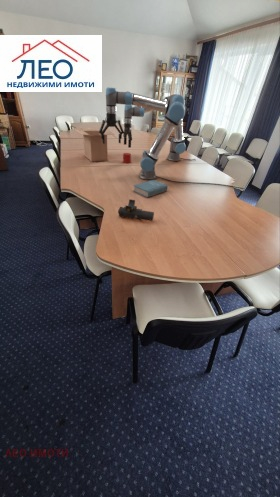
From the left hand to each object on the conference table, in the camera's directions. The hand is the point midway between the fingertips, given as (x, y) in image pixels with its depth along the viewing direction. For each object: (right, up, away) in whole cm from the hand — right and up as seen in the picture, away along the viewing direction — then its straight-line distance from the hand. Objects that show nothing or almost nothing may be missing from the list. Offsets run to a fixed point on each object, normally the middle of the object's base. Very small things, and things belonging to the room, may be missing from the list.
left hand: (111, 143), depth 179 cm
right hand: (+10, +23, +53) cm, 59 cm away
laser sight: (+20, -66, -38) cm, 79 cm away
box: (-27, +16, +68) cm, 75 cm away
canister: (+9, +9, +63) cm, 64 cm away
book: (+31, -39, -1) cm, 51 cm away
